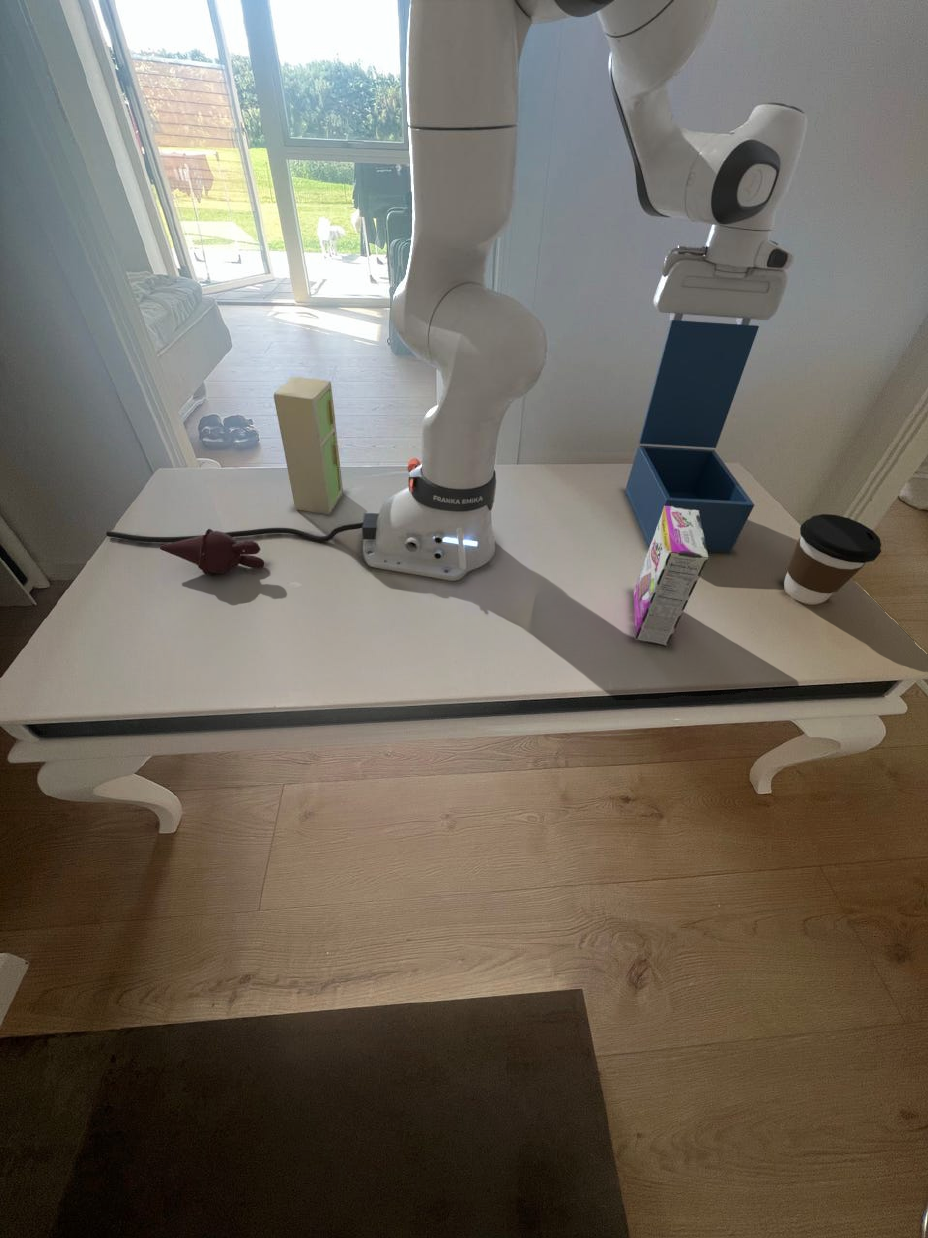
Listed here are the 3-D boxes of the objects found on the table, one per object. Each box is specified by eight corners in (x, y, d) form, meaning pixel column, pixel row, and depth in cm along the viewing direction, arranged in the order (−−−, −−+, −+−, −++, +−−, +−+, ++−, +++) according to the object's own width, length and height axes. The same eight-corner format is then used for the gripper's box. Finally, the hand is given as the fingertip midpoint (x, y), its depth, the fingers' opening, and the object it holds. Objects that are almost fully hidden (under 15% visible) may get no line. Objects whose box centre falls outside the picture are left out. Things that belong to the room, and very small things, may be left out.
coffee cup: (829, 578, 89) (871, 518, 81) (848, 621, 82) (896, 560, 73) (762, 566, 91) (797, 506, 82) (775, 607, 83) (814, 546, 75)
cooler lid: (759, 326, 87) (746, 321, 91) (672, 320, 87) (663, 315, 91) (716, 447, 100) (706, 439, 104) (639, 443, 99) (633, 434, 103)
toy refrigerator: (333, 515, 94) (317, 398, 80) (294, 510, 95) (271, 393, 80) (347, 493, 100) (335, 380, 86) (311, 488, 101) (292, 375, 86)
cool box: (730, 552, 93) (754, 504, 86) (648, 548, 93) (666, 500, 86) (695, 494, 107) (714, 449, 100) (624, 490, 107) (638, 445, 100)
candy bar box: (630, 592, 84) (663, 503, 72) (662, 597, 83) (700, 508, 72) (632, 641, 76) (670, 550, 64) (668, 647, 75) (711, 556, 64)
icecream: (143, 552, 74) (253, 561, 76) (159, 513, 78) (263, 523, 80) (160, 580, 80) (261, 588, 82) (174, 542, 84) (271, 551, 86)
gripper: (675, 247, 80) (647, 345, 89) (805, 257, 80) (763, 353, 90) (663, 240, 84) (638, 334, 94) (787, 249, 85) (749, 342, 95)
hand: (700, 343), depth 92 cm, fingers open, 8 cm apart
